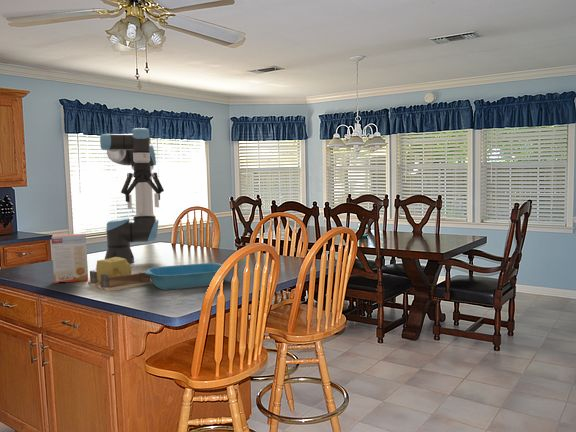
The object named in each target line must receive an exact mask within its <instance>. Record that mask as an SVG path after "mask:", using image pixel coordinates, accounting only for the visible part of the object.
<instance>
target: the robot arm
mask: <svg viewBox="0 0 576 432" xmlns="http://www.w3.org/2000/svg"><path fill="white" fill-rule="evenodd" d="M131 131H132V133H128V134H127V133H104V134H103V133H102V134H101V135H100V137H99V144H100V149H101V150H102V151H106V155H107V158H108V159H109V160H110V161H111V162H112V163H113V162H114V163H115V164H118V165H122V166H131V170H133V173H132V172H127V174H126V179H125V182H124V183H123V187H122V189H121V191H120V193H121V194H123V195H125V196H124V197H125V202H127V209H128V210H132V209H133V203H132V202H133V201H132V194H131V193H132V192H133V190H134V189H135V190H134V191H135V192H134V193H135V215H134V216H133V217H132V218H133V220H130V218H128V217H126V218H125V217H124V218H117V219H112V220H109V221H108V222H106V229H105V232H106V242H107V243H106V245H107V250H106V253H105V256H104V259H109V258H113V257H120V258H124V259H126V260H127V262H128V263H130V264H132V263H134V262H135V256H134V253H133V250H132V249H131V243H143V242H144V243H146V242H147V243H149V242H155V241H156V240H157V239H158V231H159V230H158V228H159V219H156V216H155V215H154V214H153V213H154V212H153V197H154V208H160V202H159V201H160V200H161V194H162V193H163V192H165V190H164V187H163V186H162V184H161V182H160V179H159V177H158V173H157V172H152V170H154V166H156V165H157V159H156V153H155V149H154V146H153V145H152V144H150V143H151V142H150V130H149V128H145V127H143V128H142V127H141V128H140V127H138V128H137V127H136V128H133V129H132V130H131ZM133 178H134V179H133ZM132 179H133V181H132ZM152 179H153V180H152ZM152 189H153V191H154V192H155V193H154V195H153V193H152V192H153V191H152Z"/></svg>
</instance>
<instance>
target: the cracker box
mask: <svg viewBox="0 0 576 432" xmlns="http://www.w3.org/2000/svg"><path fill="white" fill-rule="evenodd" d="M86 235H87V234H86V233H73V234H72V233H71V234H70V233H69V234H57V235H54V234H53V235H51V250H52V251H51V252H52V254H51V256H52V268H53V270H52V271H53V281H54V282H53V283H54V284H60V283H59V282H66V283H74V282H77V283H78V282H88V281H89V269H88V267H89V266H88V254H87V253H88V251H87V236H86Z"/></svg>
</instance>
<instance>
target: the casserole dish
mask: <svg viewBox="0 0 576 432" xmlns="http://www.w3.org/2000/svg"><path fill="white" fill-rule="evenodd" d="M221 265H222V263H218V262H217V263H216V262H211V263H210V262H209V263H190V264H180V265H178V264H177V265H165V266H156V267H150V268H148V269H147V270H145V271H144V272H145V274H147V275H150V278H151V280H152V282H153V283H152V284H153V285H154V286H155V287H156V288H158V289H160V290H162V291H163V290H164V291H167V290H168V291H169V290H170V291H171V290H181V289H182V290H183V289H189V288H190V289H193V288H203V287H209V286H208V285H209V284H210V282H211V280H212V278H213V276H214V275H215V273H216V272H217V270H218V269H219V268H220V267H221ZM227 277H228V275H227V276H226V278H225V281H227V280H226V279H227Z"/></svg>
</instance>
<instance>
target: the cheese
mask: <svg viewBox="0 0 576 432" xmlns="http://www.w3.org/2000/svg"><path fill="white" fill-rule="evenodd" d="M95 267H96V268H95V269H96V270H95V271H96V273H97V280H98V283H101V279H100V274H105V275H108V278H109V277H116V276H122V275H129V274H132V265H131V263H128V262H127V260H126V259H124V258H120V257H113V258H109V259H105V258H104V259H100V260H97V261H96V266H95ZM130 270H131V272H130Z"/></svg>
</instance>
